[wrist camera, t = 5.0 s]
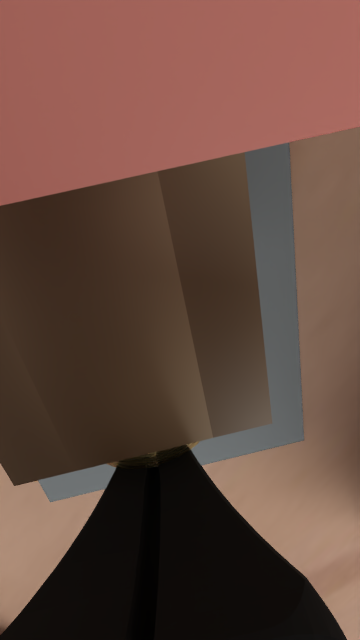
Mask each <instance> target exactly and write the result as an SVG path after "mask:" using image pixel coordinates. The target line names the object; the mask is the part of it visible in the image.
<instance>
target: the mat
mask: <svg viewBox="0 0 360 640" xmlns="http://www.w3.org/2000/svg"><path fill="white" fill-rule="evenodd" d="M245 161H246V171H247V181H248V190H249V200H250V210H251V220H252V229H253V239H254V249H255V259H256V268H257V278H258V288H259V298H260V307H261V317H262V327H263V337H264V346H265V356H266V366H267V376H268V385H269V395H270V405H271V415H272V424H268V425H264V426H260V427H256V428H252V429H248V430H244V431H239V432H235V433H231V434H227V435H223V436H219V437H215V438H211V439H206V440H202V441H200V442H199V443H198V444H197V445H196V446H195V447H193V448H192V449H191V450H192V452H193V454H194V455H195V457H196V458H197V460H198V462H199V463H200V465H205V464H209V463H213V462H217V461H221V460H225V459H229V458H233V457H238V456H242V455H246V454H250V453H254V452H258V451H262V450H266V449H270V448H274V447H279V446H283V445H287V444H291V443H295V442H299V441H303V440H304V429H303V409H302V389H301V369H300V349H299V329H298V309H297V289H296V269H295V249H294V229H293V209H292V189H291V169H290V148H289V142H288V143H283V144H279V145H274V146H270V147H265V148H261V149H256V150H252V151H247V152H245ZM115 469H116V467H113V466H110V465H108V464H103V465H99V466H95V467H91V468H87V469H83V470H78V471H74V472H70V473H66V474H62V475H58V476H54V477H49V478H45V479H41V480H38V481H39V483H40V485H41V486H42V488H43V490H44V492H45V494H46V495H47V497H48V499H49V501H50V502H53V501H57V500H61V499H65V498H70V497H74V496H78V495H82V494H86V493H90V492H94V491H98V490H102V489H106V487H107V485H108V483H109V481H110V479H111V477H112V475H113V473H114V471H115Z"/></svg>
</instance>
